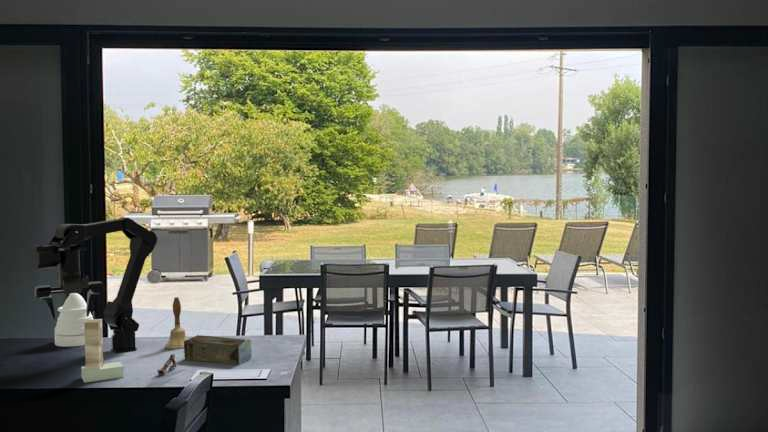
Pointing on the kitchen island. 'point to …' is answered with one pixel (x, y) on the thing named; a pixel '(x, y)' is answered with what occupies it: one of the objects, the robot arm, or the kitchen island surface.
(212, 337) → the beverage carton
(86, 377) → the pale green block
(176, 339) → the hand bell
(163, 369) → the wooden post with brackets
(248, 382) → the kitchen island surface
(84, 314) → the honey pot
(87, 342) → the beech post
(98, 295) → the robot arm
